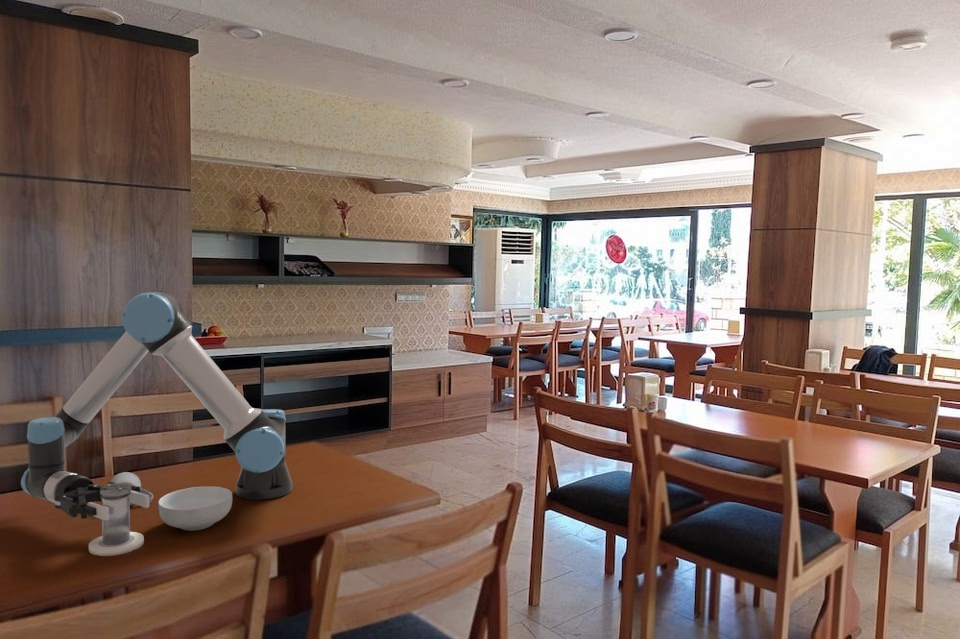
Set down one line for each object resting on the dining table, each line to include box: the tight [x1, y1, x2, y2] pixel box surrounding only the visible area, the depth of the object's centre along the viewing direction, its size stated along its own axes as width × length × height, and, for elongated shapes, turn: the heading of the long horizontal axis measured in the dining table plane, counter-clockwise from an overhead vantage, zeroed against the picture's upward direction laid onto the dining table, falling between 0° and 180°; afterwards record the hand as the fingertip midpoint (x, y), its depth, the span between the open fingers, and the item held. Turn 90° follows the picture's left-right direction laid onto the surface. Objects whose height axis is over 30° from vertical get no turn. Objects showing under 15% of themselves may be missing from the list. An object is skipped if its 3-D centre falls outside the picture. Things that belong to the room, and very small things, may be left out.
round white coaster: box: [88, 531, 145, 557], centre depth 159 cm, size 11×11×1 cm
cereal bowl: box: [157, 485, 233, 532], centre depth 172 cm, size 17×17×7 cm
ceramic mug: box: [109, 471, 154, 507], centre depth 187 cm, size 11×8×8 cm
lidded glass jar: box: [100, 483, 131, 545], centre depth 158 cm, size 6×6×12 cm
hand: (128, 507), depth 156 cm, fingers open, 9 cm apart
